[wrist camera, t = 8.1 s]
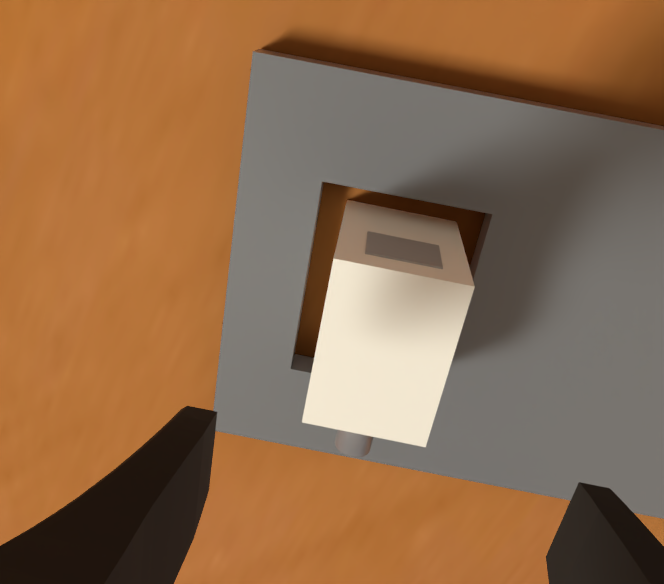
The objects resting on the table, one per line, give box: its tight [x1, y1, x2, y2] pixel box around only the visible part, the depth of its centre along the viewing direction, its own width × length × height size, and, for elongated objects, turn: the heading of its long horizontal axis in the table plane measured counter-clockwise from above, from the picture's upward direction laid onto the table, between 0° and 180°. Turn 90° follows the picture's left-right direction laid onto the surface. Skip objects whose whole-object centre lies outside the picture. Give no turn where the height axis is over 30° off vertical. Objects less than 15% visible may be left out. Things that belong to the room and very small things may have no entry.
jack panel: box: [213, 49, 664, 519], centre depth 20 cm, size 13×24×1 cm, turn 80°
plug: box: [302, 200, 475, 457], centre depth 19 cm, size 7×4×5 cm, turn 170°
